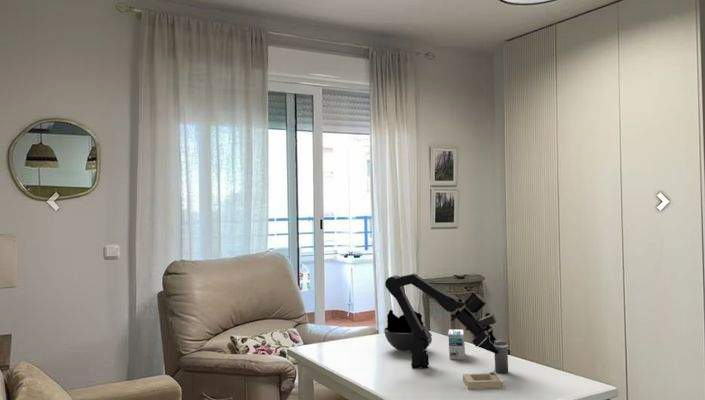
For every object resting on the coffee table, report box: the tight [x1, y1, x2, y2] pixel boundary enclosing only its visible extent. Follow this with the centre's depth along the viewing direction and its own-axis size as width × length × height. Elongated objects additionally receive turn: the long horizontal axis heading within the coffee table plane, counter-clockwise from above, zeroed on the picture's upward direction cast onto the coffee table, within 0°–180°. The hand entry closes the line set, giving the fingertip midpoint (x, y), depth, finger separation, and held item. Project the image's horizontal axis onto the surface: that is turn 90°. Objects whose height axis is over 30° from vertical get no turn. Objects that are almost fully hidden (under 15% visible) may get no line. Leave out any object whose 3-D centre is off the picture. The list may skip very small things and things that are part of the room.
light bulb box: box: [448, 328, 466, 360], centre depth 243 cm, size 11×7×11 cm, turn 168°
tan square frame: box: [462, 371, 503, 390], centre depth 203 cm, size 12×10×3 cm
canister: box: [493, 339, 509, 375], centre depth 218 cm, size 5×5×12 cm
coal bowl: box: [383, 309, 427, 352], centre depth 255 cm, size 20×20×19 cm
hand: (499, 350), depth 218 cm, fingers open, 9 cm apart
